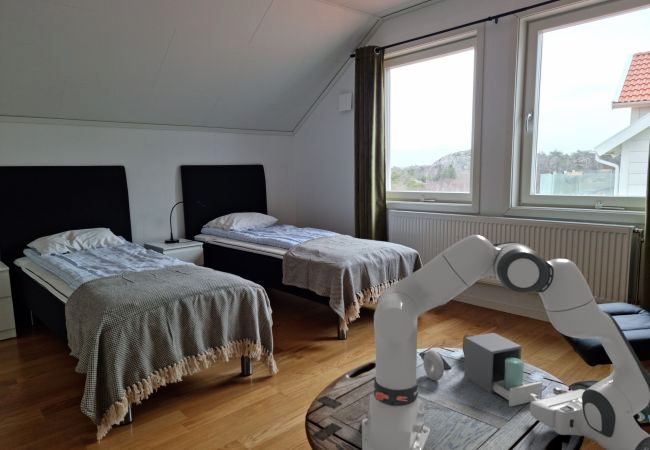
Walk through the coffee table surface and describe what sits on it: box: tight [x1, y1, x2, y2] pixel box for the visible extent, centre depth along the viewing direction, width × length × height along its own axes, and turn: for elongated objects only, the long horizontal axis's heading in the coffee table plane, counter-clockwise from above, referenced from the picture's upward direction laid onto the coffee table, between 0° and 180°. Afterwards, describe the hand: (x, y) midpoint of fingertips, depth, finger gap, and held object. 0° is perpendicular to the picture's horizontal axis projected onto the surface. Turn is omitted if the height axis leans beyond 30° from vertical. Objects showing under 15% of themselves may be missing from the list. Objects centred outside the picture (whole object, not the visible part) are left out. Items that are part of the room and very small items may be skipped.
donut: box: [422, 349, 445, 381], centre depth 155 cm, size 10×4×10 cm, turn 18°
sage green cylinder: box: [504, 358, 525, 391], centre depth 143 cm, size 5×5×10 cm
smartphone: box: [419, 351, 452, 371], centre depth 170 cm, size 8×15×1 cm, turn 6°
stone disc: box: [462, 332, 478, 357], centre depth 170 cm, size 10×4×10 cm, turn 7°
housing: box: [463, 332, 522, 394], centre depth 153 cm, size 13×12×14 cm
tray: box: [492, 380, 543, 407], centre depth 144 cm, size 12×12×5 cm
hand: (542, 392), depth 133 cm, fingers open, 8 cm apart
